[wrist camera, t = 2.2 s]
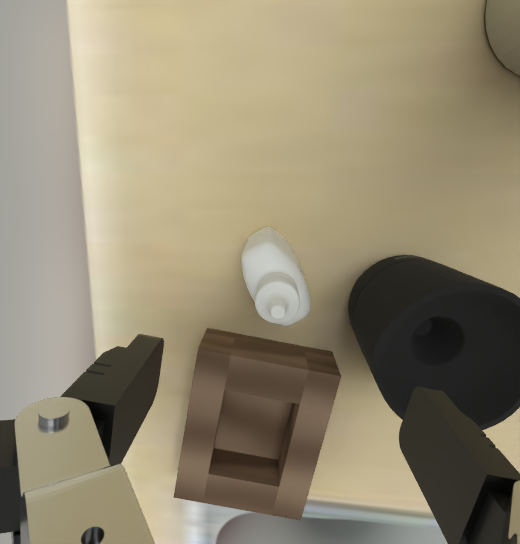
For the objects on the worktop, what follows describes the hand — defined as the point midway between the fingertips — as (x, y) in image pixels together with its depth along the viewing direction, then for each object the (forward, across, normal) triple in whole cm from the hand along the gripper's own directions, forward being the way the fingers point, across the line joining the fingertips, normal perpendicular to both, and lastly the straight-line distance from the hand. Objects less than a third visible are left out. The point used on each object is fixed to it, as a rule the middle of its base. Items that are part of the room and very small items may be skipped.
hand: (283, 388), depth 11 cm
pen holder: (+19, -11, +2) cm, 22 cm away
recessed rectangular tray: (+19, -1, +14) cm, 23 cm away
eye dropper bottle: (+19, 0, 0) cm, 19 cm away
